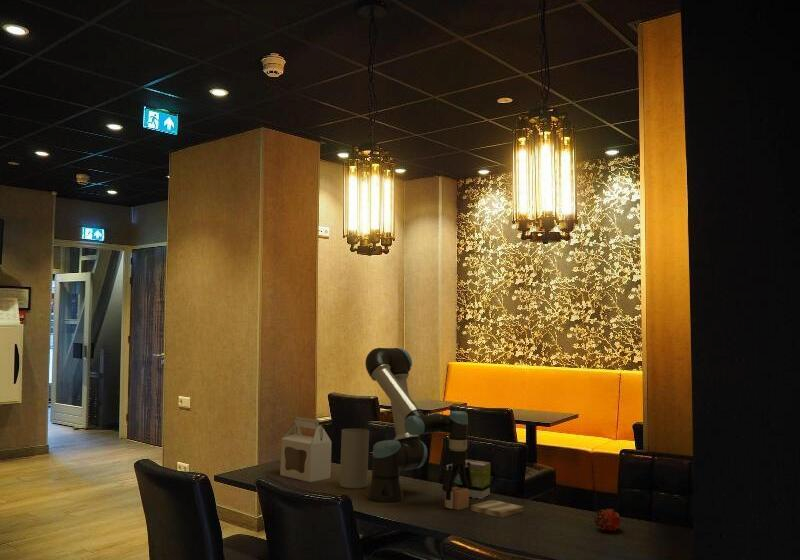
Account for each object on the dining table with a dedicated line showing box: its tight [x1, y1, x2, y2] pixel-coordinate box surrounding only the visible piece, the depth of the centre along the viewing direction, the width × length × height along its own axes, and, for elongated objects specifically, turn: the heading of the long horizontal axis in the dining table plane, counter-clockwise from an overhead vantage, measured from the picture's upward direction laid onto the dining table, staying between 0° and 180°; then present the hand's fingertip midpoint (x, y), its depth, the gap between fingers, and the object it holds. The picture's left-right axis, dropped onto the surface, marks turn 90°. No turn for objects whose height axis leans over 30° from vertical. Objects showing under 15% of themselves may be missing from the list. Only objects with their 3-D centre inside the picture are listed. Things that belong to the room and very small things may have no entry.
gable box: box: [279, 416, 333, 483], centre depth 325 cm, size 22×13×28 cm, turn 49°
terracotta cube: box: [444, 487, 470, 511], centre depth 273 cm, size 7×7×7 cm
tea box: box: [452, 459, 492, 500], centre depth 295 cm, size 15×10×15 cm, turn 62°
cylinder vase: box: [339, 428, 370, 490], centre depth 307 cm, size 12×12×25 cm
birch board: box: [470, 499, 525, 519], centre depth 268 cm, size 15×15×2 cm
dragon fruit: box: [594, 508, 622, 533], centre depth 244 cm, size 8×8×12 cm
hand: (457, 506), depth 273 cm, fingers open, 9 cm apart
